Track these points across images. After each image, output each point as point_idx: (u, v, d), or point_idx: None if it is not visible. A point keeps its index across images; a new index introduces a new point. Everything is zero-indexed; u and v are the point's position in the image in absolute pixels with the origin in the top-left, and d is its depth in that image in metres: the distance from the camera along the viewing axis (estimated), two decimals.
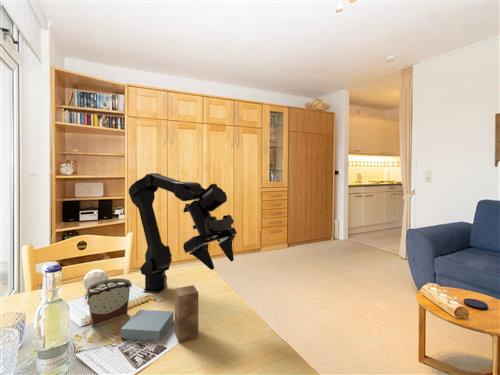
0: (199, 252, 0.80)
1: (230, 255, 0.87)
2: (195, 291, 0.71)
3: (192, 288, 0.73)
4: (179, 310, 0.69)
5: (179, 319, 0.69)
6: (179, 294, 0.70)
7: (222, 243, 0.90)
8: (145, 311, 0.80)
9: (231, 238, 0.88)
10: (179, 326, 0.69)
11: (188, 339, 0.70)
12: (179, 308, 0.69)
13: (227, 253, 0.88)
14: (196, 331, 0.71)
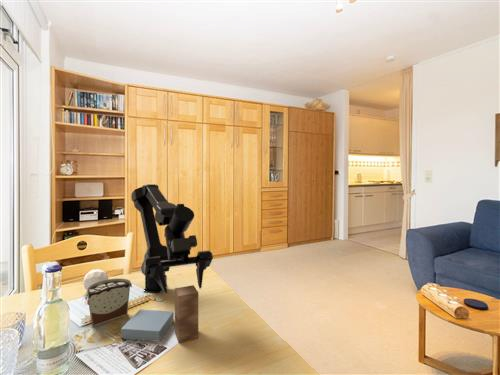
0: (158, 275, 0.77)
1: (198, 281, 0.78)
2: (195, 291, 0.71)
3: (192, 288, 0.73)
4: (179, 310, 0.69)
5: (179, 319, 0.69)
6: (179, 294, 0.70)
7: (197, 268, 0.82)
8: (145, 311, 0.80)
9: (201, 262, 0.80)
10: (179, 326, 0.69)
11: (188, 339, 0.70)
12: (179, 308, 0.69)
13: (198, 279, 0.79)
14: (196, 331, 0.71)
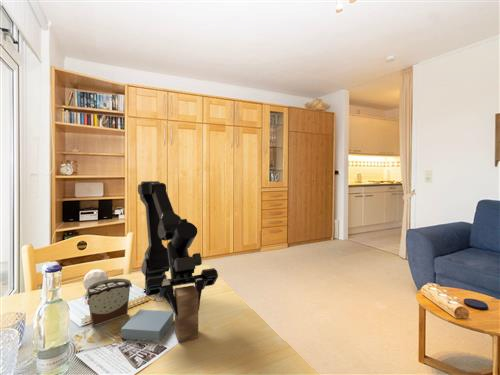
0: (168, 294, 0.73)
1: None
2: (195, 291, 0.71)
3: (192, 288, 0.73)
4: (179, 310, 0.69)
5: (179, 319, 0.69)
6: (179, 294, 0.70)
7: None
8: (145, 311, 0.80)
9: (199, 282, 0.75)
10: (179, 326, 0.69)
11: (188, 339, 0.70)
12: (179, 308, 0.69)
13: None
14: (196, 331, 0.71)
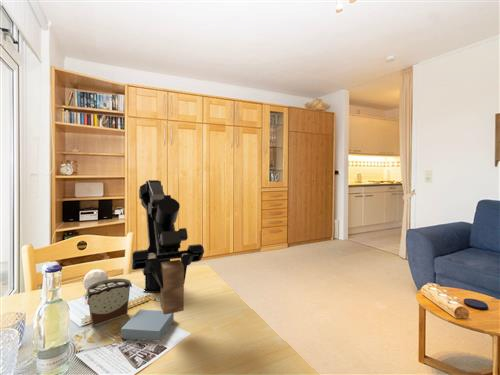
0: (154, 268, 0.74)
1: None
2: (181, 264, 0.72)
3: (178, 262, 0.74)
4: (164, 282, 0.70)
5: (164, 291, 0.70)
6: (164, 267, 0.70)
7: None
8: (145, 311, 0.80)
9: (185, 257, 0.76)
10: (164, 298, 0.70)
11: (173, 311, 0.71)
12: (164, 280, 0.70)
13: None
14: (181, 303, 0.72)
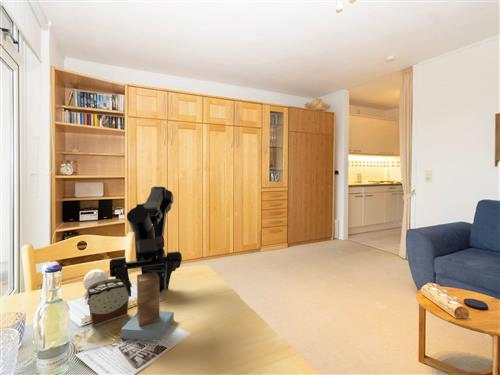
0: None
1: (165, 283, 0.76)
2: (156, 277, 0.74)
3: (154, 274, 0.76)
4: (140, 295, 0.72)
5: (140, 304, 0.72)
6: (140, 280, 0.72)
7: (165, 269, 0.80)
8: None
9: (169, 263, 0.78)
10: (140, 310, 0.72)
11: (149, 323, 0.73)
12: (140, 293, 0.71)
13: (165, 281, 0.78)
14: (157, 315, 0.74)
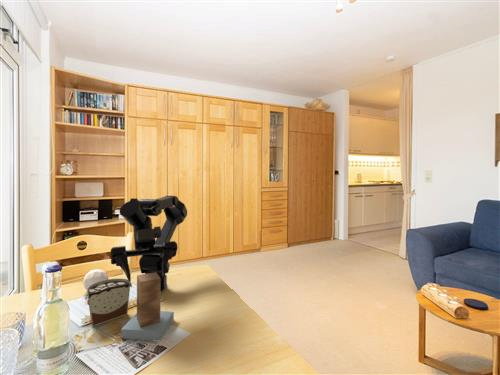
0: None
1: (162, 269, 0.83)
2: (157, 277, 0.74)
3: (154, 275, 0.76)
4: (141, 295, 0.71)
5: (141, 304, 0.71)
6: (141, 280, 0.72)
7: (162, 258, 0.87)
8: None
9: (166, 252, 0.85)
10: (141, 311, 0.72)
11: (150, 323, 0.73)
12: (141, 293, 0.71)
13: (162, 268, 0.84)
14: (158, 315, 0.74)
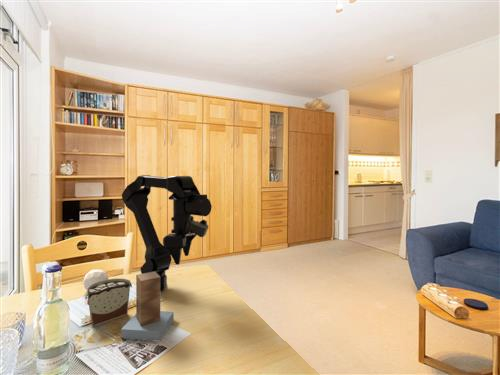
0: (173, 247, 0.87)
1: (187, 251, 0.98)
2: (157, 276, 0.75)
3: (153, 274, 0.76)
4: (141, 294, 0.72)
5: (141, 303, 0.72)
6: (141, 279, 0.72)
7: None
8: None
9: (194, 237, 0.99)
10: (141, 310, 0.72)
11: (150, 322, 0.74)
12: (141, 292, 0.72)
13: (185, 247, 0.98)
14: (158, 314, 0.75)
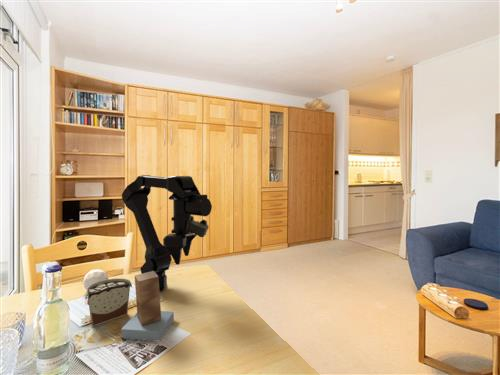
0: (173, 247, 0.87)
1: (187, 251, 0.98)
2: (155, 275, 0.74)
3: (152, 273, 0.76)
4: (140, 295, 0.72)
5: (141, 303, 0.72)
6: (139, 280, 0.72)
7: None
8: None
9: (194, 237, 0.99)
10: (141, 310, 0.72)
11: (151, 321, 0.73)
12: (140, 293, 0.72)
13: (185, 247, 0.98)
14: (159, 313, 0.74)
